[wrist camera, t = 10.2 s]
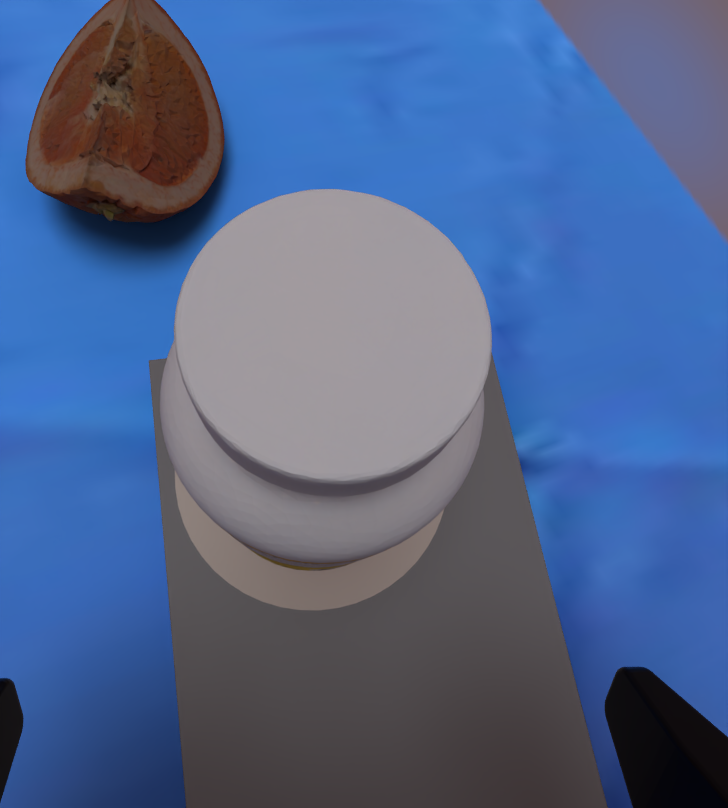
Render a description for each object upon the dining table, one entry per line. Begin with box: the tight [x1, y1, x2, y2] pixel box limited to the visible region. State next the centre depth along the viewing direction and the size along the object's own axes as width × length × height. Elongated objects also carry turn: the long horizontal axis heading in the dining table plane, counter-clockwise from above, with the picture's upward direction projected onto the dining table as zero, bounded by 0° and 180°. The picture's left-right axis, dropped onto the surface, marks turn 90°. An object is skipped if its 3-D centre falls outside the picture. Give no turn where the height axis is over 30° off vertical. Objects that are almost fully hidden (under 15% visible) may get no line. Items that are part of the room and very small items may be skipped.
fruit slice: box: [26, 0, 224, 223], centre depth 21 cm, size 8×7×5 cm
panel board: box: [149, 352, 607, 808], centre depth 19 cm, size 21×12×1 cm, turn 10°
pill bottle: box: [160, 189, 492, 571], centre depth 14 cm, size 6×6×12 cm
